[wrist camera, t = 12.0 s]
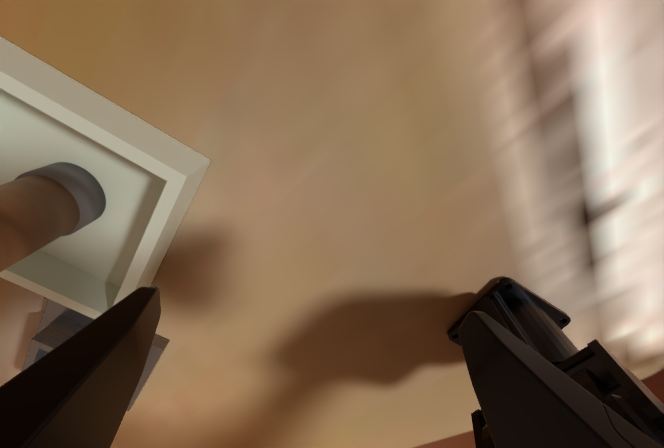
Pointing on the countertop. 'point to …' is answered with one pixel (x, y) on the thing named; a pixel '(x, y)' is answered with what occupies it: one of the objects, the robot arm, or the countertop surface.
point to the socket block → (67, 322)
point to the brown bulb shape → (46, 208)
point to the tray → (109, 170)
